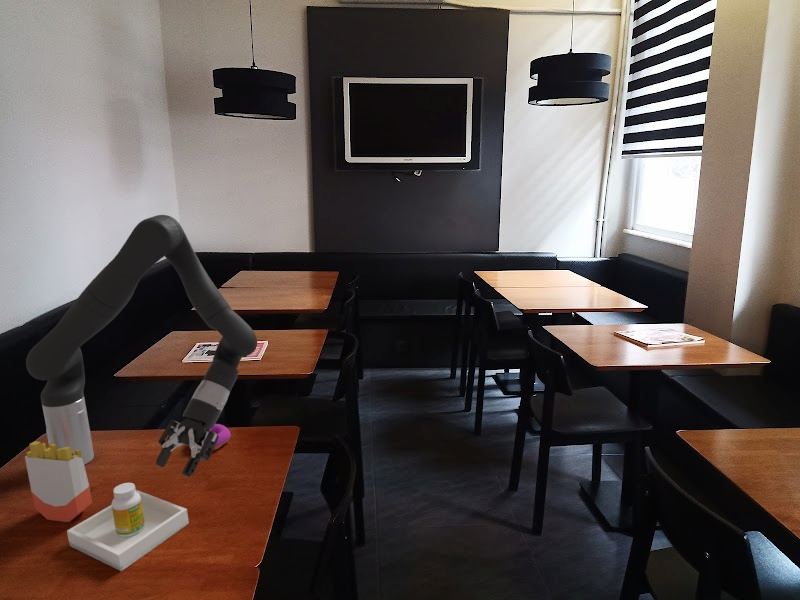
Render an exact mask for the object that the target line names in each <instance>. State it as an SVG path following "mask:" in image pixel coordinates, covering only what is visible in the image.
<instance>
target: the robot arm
mask: <svg viewBox="0 0 800 600" xmlns="http://www.w3.org/2000/svg"><path fill="white" fill-rule="evenodd" d="M163 258H166V259H167V261H169V263H170V264H171V265H172V266H173V268H174V269H175V271H176V272H177V274H178V276H179V278H180V280H181V283H182V285H183V287H184V289H185V293H186V295H187V297H188V300H189V301H190V303H191V305H192V307H193V308H194V309H195V311H196V312H197V313H198V315H199V316H200V318H201V320H202V321H203V322H204V323H205V324H206V325H207V327H208V328H209V329H212V330H215V331H217V332H218V333H219V335H220V336H221V338H220V341H219V342H218V344H217V347H216V349H215V352H214V355H213V357H212V362H211V364H210V366H209V367H208V369H207V371H206V373H205V374H204V376H203V379H202V380H201V382H200V384H199V385H198V386H197V387H196V389H195V391H194V393H193V395H192V397H191V399H190V400H189V402H188V404H187V406H186V408H185V410H184V411H183V414H182V416H183V419H182V420H181V422H178V421H176V420H174V419H171V420H169V423H168V424H167V426H166V427H165V429H164V431H163V433H162V434H161V436H160V437H159V439H158V441H157V442H158V445H159V444H160V446H161V447H162V448H161V451H160V453H159V454H158V456H157V458H156V461H155V465H156V466H158V467H160V468H164V467H165V466H166V465H167V462H168V460H170V457H171V455H172V452H173V451H174V450H175V449H177V448H178V447H181V446H183V445H184V446H188V447H189V449H190V450H191V451H190V452H191V454H190V455H191V457H189V458H188V460H187V462H186V464H185V466H184V468H183V470H182V471H181V472H182V473H181V474H182V475H183V476H186V477H188V478H190V477H191V476H192V475H193V474H194V473H195V471H196V469H197V467H198V466H199V463H200V462H201V461H209V460H210V459H211V456H212V454H213V449H214V447H215V445H216V443H217V440H218V438H219V435H218V434H216V433H214V432H212V431H210V428H213V427H214V425H215V424H217V421H218V420H219V418H220V416H221V413H222V412H223V409H224V407H225V406H226V404H227V401H228V399H229V395H230V393H231V392H232V390H233V389H232V388H233V387H234V385H235V383H236V381H237V379H238V376H239V370H238V367H239V364H240V362H241V359H242V358H243V357H247V356H248V357H249V355H252V354H253V353H254V352H255V351H256V350H257V347H258V338H257V336H256V333H255V331H254V330H253V329H252V327H251V326H250V325H249V324H248V323H247V322H246V321H245V320H244V319H243V318H242V317H241V316H240V315H239V314H238V313H236V312H235V311H234V310H233V308H232V307H231V306H230V304H229V302H228V301H227V300H226V299H225V297H224V296H223V294H222V293H221V291H220V290H219V289H218V287H217V286H216V285H215V284H214V282H213V281H212V279H211V278H210V276H209V275H208V273H207V271H206V269H205V268H204V267H203V264H202V263H201V262H200V259H199V257H198V256H197V254H196V252H195V250H194V248H193V246H192V244H191V242H190V241H189V239H188V237H187V234H186V233H185V231H184V229H183V227H182V225H181V224H180V222H178V220H177V219H176V218H174V217H172V216H170V215H166V214H158V215H153V216H150V217H148V218H144V219H143V220H141V221H140V222H138V223H137V224H136V226H135V227H134V228H133V229H132V231H131V233H130V235H129V236H128V237H127V239H126V241H125V242H124V244H123V245H122V246H121V248H120V250H119V251H118V253H116V255H115V256H114V257H113V259H112V260H111V261H109V262H108V263H107V265H106V266H104V267H103V269H101V271H99V273H98V274H97V275H96V276H95V277H94V278H93V279H92V280H91V281H90V283H89V284H88V285H87V286H86V287H85V288H84V289H83V291H82V292H81V293H80V295H79V296H78V297H77V299H76V300H75V301H74V302H73V303H72V305H71V306H70V307H69V308H68V310H67V311H66V312H65V313H64V315H63V316H62V317H61V318H60V320H59V321H58V323H57V324H56V325H55V326H54V327H53V328H52V329H51V330H50V331H49V333H47V334H46V335H45V336H43V338H42V339H40V341H39V342H37V343H36V344H35V345H34V346H33V347H32V348H31V349H30V350H29V352H28V354H27V356H26V361H25V366H26V370H27V371H28V374H29V375H30V376H31V377H33V378H34V379H36V380H40V381H47V382H46V384H45V386H44V388H43V389H42V391H41V393H40V401H41V406H42V411H43V412H42V413H43V416H44V421H45V427H46V429H45V431H46V437H47V442H48V445H49V444H51V443H53V444H56V445H57V450H58V449H60V448H65V447H71V451H72V452H74V455H75V451H76V450H81V451H82V459H83V463H84V466H85V465H86V464H88V463H90V462H91V461H92V460H93V459H94V458H95V454H94V448H93V447H94V446H93V441H92V435H91V428H90V424H89V418H88V411H87V405H86V399H85V394H84V388H85V384H86V374H85V366H84V358H83V354H82V353H83V352H82V349H81V347H82V346H83V344H85V343H87V341H89V340H90V339H91V338H92V337H94V336H95V335H97V334H98V333H99V332H101V331H102V330H103V329H104V328H105V327H106V326H107V325H109V324H110V323H111V322H112V321H113V320H114V319H115V318H116V317H117V316H118V315H119V314H120V312H122V310H123V309H124V308H125V307H126V306H127V304H128V303H129V301H131V299H132V296H133V295H134V293H135V290H136V288H137V286H138V284H139V282H140V280H141V279H142V278H143V276H144V275H145V274H147V272H148V271H150V269H151V268H153V266H154V265H156V263H158V262H159V261H160V260H161V259H163ZM209 431H210V432H209ZM203 440H205V441H204V444H203ZM207 448H208V450H207ZM206 450H207V451H206Z"/></svg>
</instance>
